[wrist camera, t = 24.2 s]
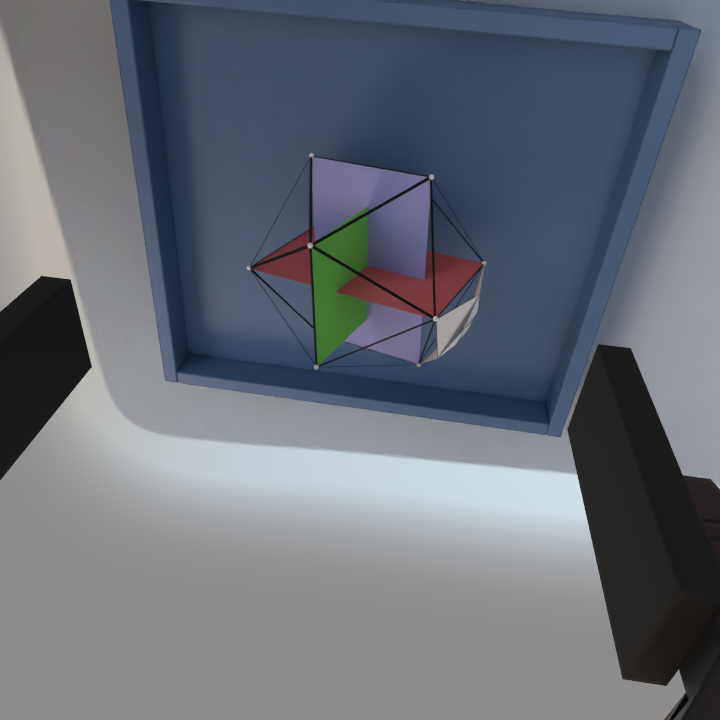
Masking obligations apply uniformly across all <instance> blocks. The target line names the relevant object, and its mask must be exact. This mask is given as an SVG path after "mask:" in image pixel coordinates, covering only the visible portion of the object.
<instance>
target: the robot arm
mask: <svg viewBox="0 0 720 720" xmlns="http://www.w3.org/2000/svg"><path fill="white" fill-rule="evenodd" d="M91 367H92V366H91V362H90V358H89V354H88V350H87V346H86V341H85V337H84V333H83V329H82V325H81V321H80V317H79V313H78V308H77V304H76V300H75V296H74V292H73V288H72V284H71V280H69V279H61V278H53V277H44V276H41V277H40V278H39V279H38V280H37V281H35V282H34V283H33V284H32V285H31V286H30V287H29V288H27V289H26V290H25V291H24V292H23V293H21V294H20V295H19V296H18V297H17V298H16V299H15V300H13V301H12V302H11V303H10V304H9V305H8V306H7V307H5V308H4V309H3V310H2V311H1V312H0V480H1V479H2V477H3V476H4V475H5V474H6V472H7V471H8V470H9V469H10V467H11V466H12V465H13V464H14V463H15V461H16V460H17V459H18V458H19V456H20V455H21V454H22V453H23V451H24V450H25V449H26V448H27V446H28V445H29V444H30V443H31V441H32V440H33V439H34V438H35V437H36V435H37V434H38V433H39V432H40V430H41V429H42V428H43V427H44V425H45V424H46V423H47V422H48V420H49V419H50V418H51V417H52V415H53V414H54V413H55V412H56V410H57V409H58V408H59V407H60V405H61V404H62V403H63V402H64V400H65V399H66V398H67V397H68V396H69V394H70V393H71V392H72V390H73V389H74V388H75V387H76V385H77V384H78V383H79V382H80V381H81V379H82V378H83V377H84V376H85V374H86V373H87V372H88V371H89V369H90V368H91ZM568 434H569V439H570V443H571V448H572V452H573V457H574V461H575V466H576V470H577V475H578V479H579V484H580V488H581V493H582V497H583V502H584V506H585V511H586V516H587V520H588V525H589V529H590V533H591V538H592V542H593V547H594V551H595V556H596V561H597V565H598V570H599V574H600V579H601V583H602V588H603V592H604V597H605V601H606V606H607V611H608V615H609V620H610V624H611V629H612V633H613V638H614V642H615V647H616V651H617V656H618V660H619V665H620V670H621V674H622V679H626V680H632V681H639V682H645V683H651V684H658V685H664V686H667V684H668V683H669V682H670V680H671V679H672V678H673V676H674V675H675V673H676V672H677V671H678V669H679V670H680V674H681V677H682V680H683V684H684V687H685V690H686V693H685V694H684V695H683V697H682V698H681V699H680V701H679V702H678V703H677V704H676V706H675V707H674V708H673V709H672V711H671V712H670V713H669V714H668V716H667V717H666V718H665V720H720V489H719V488H718V487H717V486H716V485H715V484H714V483H713V482H712V480H711V479H705V478H698V477H690V476H683V475H682V473H681V470H680V468H679V465H678V463H677V460H676V458H675V456H674V453H673V451H672V448H671V446H670V443H669V441H668V438H667V436H666V434H665V431H664V429H663V426H662V424H661V421H660V419H659V416H658V414H657V412H656V409H655V407H654V404H653V402H652V399H651V397H650V394H649V392H648V390H647V387H646V385H645V382H644V380H643V377H642V375H641V372H640V370H639V367H638V365H637V363H636V360H635V358H634V355H633V353H632V350H631V348H624V347H616V346H608V345H599V344H598V346H597V349H596V352H595V354H594V357H593V360H592V363H591V365H590V368H589V371H588V374H587V377H586V379H585V382H584V385H583V388H582V390H581V393H580V396H579V399H578V401H577V404H576V407H575V410H574V413H573V415H572V418H571V421H570V424H569V426H568Z"/></svg>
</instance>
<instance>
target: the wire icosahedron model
mask: <svg viewBox="0 0 720 720" xmlns="http://www.w3.org/2000/svg"><path fill="white" fill-rule="evenodd" d="M309 156H310V158H309V159H310V182H309V229H308V230H307V231H305V232H304V233H302V234H300V235H299V236H297V237H296V238H294V239H293V240H291V241H289V242H288V243H286V244H285V245H283V246H282V247H280V248H279V249H277V250H275V251H274V252H272V253H271V254H269V255H268V256H266V257H265V258H263V259H261V260H260V261H258V262H257V263H255V264H254V265H252V264H251V265H252V266H247V270H251V272H252V273H253V275H254V274H255V275H256V276H257V277H258V278H259V279H261V280H262V281H263V282H264V283H265V284H266V285H267V286H268V287H269V288H270V289H271V290H272V291H273V292H274V293H275V294H277V295H278V296H279V297H280V298H281V299H282V300H283V301H284V302H285V303H286V304H287V305H288V306H289V307H290V308H291V309H292V310H294V311H295V312H296V313H297V314H298V315H299V316H300V317H301V318H302V319H303V320H304V321H305V322H306V323H307V324H308V325H310V326H311V327H312V328H313V329H314V348H315V363H314V362H313V360H312V359H311V357H310V356H309V354H308V353H307V352H306V353H307V354H308V356H309V357H310V359H311V360H312V362H313V363H314V369H318V368H319V367H320V366H322V365H325V364H327V363H330V362H332V361H335V360H337V359H340V358H342V357H345V356H347V355H350V354H352V353H355V352H357V351H360V350H362V349H368V350H371V351H374V352H378V353H381V354H384V355H387V356H391V357H394V358H397V359H400V360H403V361H407V362H410V363H413V364H416V365H417V367H420V366H421V364H423V363H426V362H429V361H433V360H436V359H438V357H440V356H442V355H443V354H444V353H446V352H447V351H448V350H450V349H451V348H452V347H453V346H455V345H456V344H457V342H458V341H459V339H460V338H462V336H463V335H464V334H465V333H466V331H467V330H468V328H469V327H470V325H471V323H472V322H471V321H472V320H473V318H475V315H476V314H477V312H478V305H479V297H480V290H481V284H482V277H483V271H484V267H483V265H484V266H485V265H486V264H487V262H486V261H483V260H482V258H481V257H479V256H480V255H478V254H479V253H478V252H477V253H478V254H477V253H476V252H475V251H474V249H473V248H472V247H471V246H470V244H469V243H468V242H467V241H466V239H465V238H464V237H463V236H462V235H461V233H460V232H459V231H458V230H457V228H456V227H455V226H454V225H453V223H452V222H451V221H450V220H449V218H448V217H447V216H446V215H445V214H444V212H443V211H442V210H441V209H440V207H439V206H438V205H437V204H436V202H435V201H434V200H433V193H432V180H433V179H434V175H432V174H431V175H429V176H426V175H421V174H415V173H409V172H403V171H398V170H392V169H386V168H380V167H375V166H369V165H363V164H358V163H352V162H346V161H340V160H335V159H329V158H323V157H317V156H314V154H313V153H310V155H309ZM308 161H309V160H308ZM307 163H308V162H307ZM307 163H306V165H307ZM306 165H305V167H306ZM305 167H304V168H305ZM303 170H304V169H303ZM302 172H303V171H302ZM302 172H301V174H302ZM301 174H300V176H301ZM300 176H299V177H300ZM298 179H299V178H298ZM297 181H298V180H297ZM433 181H434V180H433ZM296 183H297V182H296ZM296 183H295V185H296ZM434 183H435V181H434ZM435 184H436V183H435ZM295 185H294V187H295ZM436 186H437V185H436ZM294 187H293V188H294ZM437 187H438V186H437ZM438 189H439V188H438ZM292 190H293V189H292ZM312 191H313V213H314V226H313V227H312ZM439 191H440V190H439ZM291 192H292V191H291ZM440 192H441V191H440ZM290 194H291V193H290ZM290 194H289V196H290ZM441 194H442V193H441ZM289 196H288V198H289ZM442 196H443V194H442ZM443 197H444V196H443ZM288 198H287V199H288ZM444 199H445V198H444ZM445 200H446V199H445ZM286 201H287V200H286ZM433 202H434V203H435V204H436V206H437V207H438V208H439V209H440V211H441V212H442V213H443V214H444V216H445V217H446V218H447V219H448V221H449V222H450V223H451V224H452V225H453V227H454V228H455V229H456V230H457V232H458V233H459V234H460V235H461V237H462V238H463V239H464V240H465V242H466V243H467V244H468V245H469V246H470V248H471V249H472V250H473V251H474V253H475V254H476V255H477V256H478V258H479V259H480V260H481V261H482V263H481V262H476V261H472V260H468V259H463V258H459V257H454V256H450V255H446V254H441V253H437V252H434V227H433ZM446 202H447V201H446ZM285 203H286V202H285ZM430 203H431V238H432V251H428V250H427V236H428V221H429V206H430ZM447 204H448V203H447ZM284 205H285V204H284ZM284 205H283V207H284ZM448 205H449V204H448ZM283 207H282V209H283ZM449 207H450V206H449ZM282 209H281V210H282ZM450 209H451V207H450ZM451 210H452V209H451ZM280 212H281V211H280ZM452 212H453V211H452ZM279 214H280V213H279ZM453 214H454V212H453ZM454 215H455V214H454ZM278 216H279V215H278ZM278 216H277V218H278ZM455 217H456V216H455ZM277 218H276V220H277ZM456 218H457V217H456ZM276 220H275V221H276ZM457 220H458V219H457ZM458 222H459V221H458ZM274 223H275V222H274ZM459 223H460V222H459ZM273 225H274V224H273ZM273 225H272V227H273ZM460 225H461V224H460ZM272 227H271V229H272ZM461 227H462V225H461ZM462 228H463V227H462ZM271 229H270V230H271ZM463 230H464V229H463ZM464 231H465V230H464ZM269 232H270V231H269ZM465 233H466V232H465ZM268 234H269V233H268ZM466 235H467V234H466ZM267 236H268V235H267ZM267 236H266V238H267ZM467 236H468V235H467ZM266 238H265V240H266ZM468 238H469V237H468ZM265 240H264V241H265ZM469 240H470V239H469ZM470 241H471V240H470ZM263 243H264V242H263ZM471 243H472V242H471ZM262 245H263V244H262ZM472 245H473V243H472ZM473 246H474V245H473ZM261 247H262V246H261ZM261 247H260V249H261ZM474 248H475V247H474ZM260 249H259V251H260ZM475 249H476V248H475ZM259 251H258V252H259ZM476 251H477V250H476ZM257 254H258V253H257ZM256 256H257V255H256ZM255 258H256V257H255ZM255 258H254V260H255ZM254 260H253V262H254ZM253 262H252V263H253ZM482 267H483V270H482V273H481V276H480V279H479V282H478V285H477V289H476V292H475V295H474V298H472V299H470V300H468V301H467V302H465V303H463V304H461V305H460V306H458V307H457V305H458V304H459V302H460V301H461V299H462V298H463V296H464V294H465V293H466V291H467V290H468V288H469V287H470V285H471V284H472V282H473V281H474V279H475V278H476V276H477V274H478V273H479V271H480V270H481V268H482ZM253 269H254V270H257V271H261V272H265V273H268V274H272V275H275V276H279V277H283V278H286V279H290V280H294V281H297V282H301V283H305V284H308V285H311V291H312V310H313V326H312V325H311V324H310V323H309V322H308V321H307V320H306V319H305V318H304V317H303V316H301V315H300V314H299V313H298V312H297V311H296V310H295V309H294V308H293V307H292V306H291V305H290V304H289V303H288V302H287V301H286V300H285V299H283V298H282V297H281V296H280V295H279V294H278V293H277V292H276V291H275V290H274V289H273V288H272V287H271V286H270V285H269V284H268V283H266V282H265V281H264V280H263V279H262V278H261V277H260V276H259V275H258V274H257V273H256V272H255V271H254V270H253ZM477 272H478V273H477ZM476 273H477V274H476ZM475 274H476V276H475V278H474V279H473V281H472V282H471V284H470V285H469V287H468V288H467V290H466V291H465V293H464V294H463V296H462V298H461V299H460V301H459V302H458V304H457V305H456V307H455V308H454V309H453V310H451V311H449V312H448V313H446V314H444V315H443V316H441V317H439V316H440V314H441V313H442V312H443V311H444V310H445V309H446V308H447V306H448V305H449V304H450V303H451V302H452V301H453V300H454V298H455V297H456V296H457V295H458V294H459V293H460V292H461V290H462V289H463V288H464V287H465V286H466V285H467V284H468V282H469V281H470V280H471V279H472V278H473V277H474V275H475ZM255 275H254V276H255ZM256 276H255V278H256ZM256 279H257V278H256ZM257 281H258V279H257ZM258 282H259V281H258ZM259 284H260V282H259ZM260 285H261V284H260ZM261 287H262V285H261ZM262 288H263V287H262ZM263 289H264V288H263ZM264 291H265V290H264ZM265 292H266V291H265ZM266 294H267V293H266ZM267 295H268V294H267ZM268 297H269V296H268ZM269 298H270V297H269ZM270 300H271V299H270ZM271 301H272V300H271ZM272 303H273V301H272ZM475 303H476V304H475ZM273 304H274V303H273ZM474 305H475V306H474ZM274 306H275V304H274ZM275 307H276V306H275ZM473 307H474V308H473ZM276 309H277V307H276ZM472 309H473V310H472ZM277 310H278V309H277ZM471 311H472V312H471ZM278 312H279V310H278ZM279 313H280V312H279ZM470 313H471V314H470ZM280 315H281V313H280ZM469 315H470V317H469ZM281 316H282V315H281ZM422 316H425V317H428V318H431V319H432V320H430V321H427V322H425V323H422ZM282 317H283V316H282ZM438 317H439V318H438ZM468 317H469V319H468ZM283 319H284V318H283ZM467 319H468V321H467ZM284 320H285V319H284ZM432 321H434V322H433V324H432V327H431V330H430V333H429V335H428V338H427V341H426V344H425V346H424V349H423V352H422V355H421V357H420V360H419V354H420V339H421V326H422V325H425V324H427V323H430V322H432ZM435 321H436V338H435V339H436V342H437V349H436V350H435V351H434V352H433V353H432V354H430V355H429V356H428V357H427V358H426V359H425V360H424V361H423V362H422V363H420V362H421V361H422V359H423V358H424V356H425V355H426V353H427V352H426V353H425V355H424V356H423V353H424V351H425V348H426V345H427V343H428V340H429V337H430V335H431V332H432V329H433V327H434V324H435ZM466 321H467V322H466ZM285 322H286V321H285ZM286 323H287V322H286ZM464 324H465V325H464ZM287 325H288V324H287ZM288 326H289V325H288ZM463 326H464V327H463ZM462 327H463V330H462V332H461V333H460V334H459V335H458V337H457V338H456V339H455V340H454V341H453V342H452V343H451V344H450V345H449V343H450V342H451V341H452V340H453V338H454V337H455V336H456V335H457V333H458V332H459V331H460V329H461V328H462ZM289 328H290V326H289ZM290 329H291V328H290ZM291 331H292V329H291ZM292 332H293V331H292ZM293 334H294V332H293ZM294 335H295V334H294ZM295 337H296V335H295ZM296 338H297V337H296ZM435 339H434V341H435ZM297 340H298V338H297ZM298 341H299V340H298ZM434 341H433V342H434ZM343 342H346V343H349V344H352V345H355V346H358V347H362V348H360V349H358V350H355V351H353V352H350V353H348V354H345V355H343V356H340V357H338V358H335V359H333V360H330V361H328V362H326V363H323V364H321V365H319V364H320V363H322V362H323V361H324V360H325V359H326V358H327V357H328V356H329V355H330V354H331V353H332V352H333V351H334V350H335V349H336V348H337V347H338V346H339V345H340V344H341V343H343ZM433 342H432V344H433ZM299 343H300V341H299ZM300 344H301V343H300ZM432 344H431V345H432ZM301 345H302V344H301ZM431 345H430V347H431ZM448 345H449V347H448V348H447V349H446V350H445V348H446V347H447V346H448ZM302 347H303V346H302ZM430 347H429V348H430ZM303 348H304V347H303ZM429 348H428V350H429ZM304 350H305V349H304ZM428 350H427V351H428ZM444 350H445V351H444ZM305 351H306V350H305ZM443 351H444V352H443ZM442 352H443V353H442ZM422 356H423V358H422ZM376 366H395V365H376ZM334 367H354V366H334Z"/></svg>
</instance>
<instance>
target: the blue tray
mask: <svg viewBox="0 0 720 720" xmlns="http://www.w3.org/2000/svg"><path fill="white" fill-rule="evenodd" d="M110 5H111V12H112V19H113V26H114V33H115V39H116V46H117V53H118V60H119V67H120V74H121V81H122V88H123V94H124V101H125V108H126V115H127V122H128V129H129V136H130V142H131V149H132V156H133V163H134V170H135V177H136V184H137V191H138V197H139V204H140V211H141V218H142V225H143V232H144V239H145V246H146V252H147V259H148V266H149V273H150V280H151V287H152V294H153V301H154V307H155V314H156V321H157V328H158V335H159V342H160V349H161V355H162V362H163V369H164V376H165V381H169V382H179V383H183V384H190V385H197V386H205V387H212V388H219V389H226V390H233V391H240V392H247V393H254V394H261V395H268V396H275V397H282V398H289V399H296V400H303V401H310V402H317V403H325V404H332V405H339V406H346V407H353V408H360V409H367V410H374V411H381V412H388V413H395V414H402V415H409V416H416V417H423V418H430V419H437V420H445V421H452V422H459V423H466V424H473V425H480V426H487V427H494V428H501V429H508V430H515V431H522V432H529V433H536V434H543V435H546V434H547V435H549V436H556V437H561V434H562V431H563V428H564V425H565V423H566V420H567V417H568V414H569V411H570V408H571V405H572V402H573V399H574V397H575V394H576V391H577V388H578V385H579V382H580V379H581V376H582V373H583V371H584V368H585V365H586V362H587V359H588V356H589V353H590V350H591V347H592V345H593V342H594V339H595V336H596V333H597V330H598V327H599V324H600V321H601V319H602V316H603V313H604V310H605V307H606V304H607V301H608V298H609V296H610V293H611V290H612V287H613V284H614V281H615V278H616V275H617V272H618V270H619V267H620V264H621V261H622V258H623V255H624V252H625V249H626V246H627V244H628V241H629V238H630V235H631V232H632V229H633V226H634V223H635V220H636V218H637V215H638V212H639V209H640V206H641V203H642V200H643V197H644V194H645V192H646V189H647V186H648V183H649V180H650V177H651V174H652V171H653V169H654V166H655V163H656V160H657V157H658V154H659V151H660V148H661V145H662V143H663V140H664V137H665V134H666V131H667V128H668V125H669V122H670V119H671V117H672V114H673V111H674V108H675V105H676V102H677V99H678V96H679V93H680V91H681V88H682V85H683V82H684V79H685V76H686V73H687V70H688V67H689V65H690V62H691V59H692V56H693V53H694V50H695V47H696V44H697V42H698V39H699V36H700V33H701V30H700V29H698V28H695V27H693V26H690V25H688V24H685V23H683V22H680V21H671V20H660V19H649V18H638V17H627V16H616V15H605V14H594V13H583V12H573V11H562V10H551V9H540V8H529V7H518V6H507V5H496V4H485V3H474V2H463V1H452V0H110ZM310 153H313V154H314V156H317V157H323V158H329V159H335V160H340V161H346V162H352V163H358V164H363V165H369V166H375V167H380V168H386V169H392V170H398V171H403V172H409V173H415V174H421V175H426V176H429V175H431V174H432V175H434V179H433V180H434V181H435V183H436V184H435V183H434V181H433V180H432V193H433V200H434V201H435V202H436V204H437V205H438V206H439V207H440V209H441V210H442V211H443V212H444V214H445V215H446V216H447V217H448V218H449V220H450V221H451V222H452V223H453V225H454V226H455V227H456V228H457V230H458V231H459V232H460V233H461V235H462V236H463V237H464V238H465V239H466V241H467V242H468V243H469V244H470V246H471V247H472V248H473V249H474V251H475V252H476V253H477V252H478V253H479V254H478V253H477V254H478V255H480V256H479V257H481V258H482V260H483V261H486V262H487V264H486V265H485V266H484V265H483V267H484V271H483V277H482V284H481V290H480V297H479V305H478V312H477V314H476V315H475V318H473V320H472V321H471V322H472V323H471V325H470V327H469V328H468V330H467V331H466V333H465V334H464V335H463V336H462V338H460V339H459V341H458V342H457V344H456V345H455V346H453V347H452V348H451V349H450V350H448V351H447V352H446V353H444V354H443V355H442V356H440V357H438V359H436V360H433V361H429V362H426V363H423V364H421V366H420V367H417V365H416V364H413V363H410V362H407V361H403V360H400V359H397V358H394V357H391V356H387V355H384V354H381V353H378V352H374V351H371V350H368V349H362V350H360V351H357V352H355V353H352V354H350V355H347V356H345V357H342V358H340V359H337V360H335V361H332V362H330V363H327V364H325V365H322V366H320V367H319V368H318V369H314V363H315V348H314V329H313V328H312V327H311V326H310V325H308V324H307V323H306V322H305V321H304V320H303V319H302V318H301V317H300V316H299V315H298V314H297V313H296V312H295V311H294V310H292V309H291V308H290V307H289V306H288V305H287V304H286V303H285V302H284V301H283V300H282V299H281V298H280V297H279V296H278V295H277V294H275V293H274V292H273V291H272V290H271V289H270V288H269V287H268V286H267V285H266V284H265V283H264V282H263V281H262V280H261V279H259V278H258V277H257V276H256V275H255V274H254V275H255V276H256V278H257V279H258V281H259V282H260V284H261V285H262V287H263V288H264V289H263V288H262V287H261V285H260V284H259V282H258V281H257V279H256V278H255V276H254V275H253V273H252V272H251V270H247V266H252V265H254V264H255V263H257V262H258V261H260V260H261V259H263V258H265V257H266V256H268V255H269V254H271V253H272V252H274V251H275V250H277V249H279V248H280V247H282V246H283V245H285V244H286V243H288V242H289V241H291V240H293V239H294V238H296V237H297V236H299V235H300V234H302V233H304V232H305V231H307V230H308V229H309V182H310V159H309V158H310V156H309V155H310ZM308 160H309V161H308ZM307 162H308V163H307ZM306 163H307V165H306ZM305 165H306V167H305ZM304 167H305V168H304ZM303 169H304V170H303ZM302 171H303V172H302ZM301 172H302V174H301ZM300 174H301V176H300ZM299 176H300V177H299ZM298 178H299V179H298ZM297 180H298V181H297ZM296 182H297V183H296ZM295 183H296V185H295ZM294 185H295V187H294ZM436 185H437V186H438V187H437V186H436ZM293 187H294V188H293ZM438 188H439V189H438ZM292 189H293V190H292ZM439 190H440V191H441V192H440V191H439ZM291 191H292V192H291ZM290 193H291V194H290ZM441 193H442V194H443V196H444V197H443V196H442V194H441ZM289 194H290V196H289ZM288 196H289V198H288ZM287 198H288V199H287ZM444 198H445V199H446V200H445V199H444ZM286 200H287V201H286ZM446 201H447V202H446ZM285 202H286V203H285ZM447 203H448V204H449V205H448V204H447ZM284 204H285V205H284ZM436 204H435V203H434V202H433V227H434V252H437V253H441V254H446V255H450V256H454V257H459V258H463V259H468V260H472V261H476V262H481V263H482V261H481V260H480V259H479V258H478V256H477V255H476V254H475V253H474V251H473V250H472V249H471V248H470V246H469V245H468V244H467V243H466V242H465V240H464V239H463V238H462V237H461V235H460V234H459V233H458V232H457V230H456V229H455V228H454V227H453V225H452V224H451V223H450V222H449V221H448V219H447V218H446V217H445V216H444V214H443V213H442V212H441V211H440V209H439V208H438V207H437V206H436ZM283 205H284V207H283ZM449 206H450V207H451V209H452V210H451V209H450V207H449ZM282 207H283V209H282ZM281 209H282V210H281ZM280 211H281V212H280ZM452 211H453V212H454V214H455V215H454V214H453V212H452ZM279 213H280V214H279ZM278 215H279V216H278ZM277 216H278V218H277ZM455 216H456V217H457V218H456V217H455ZM276 218H277V220H276ZM457 219H458V220H457ZM275 220H276V221H275ZM458 221H459V222H460V223H459V222H458ZM274 222H275V223H274ZM273 224H274V225H273ZM460 224H461V225H462V227H463V228H462V227H461V225H460ZM272 225H273V227H272ZM313 226H314V213H313V191H312V227H313ZM271 227H272V229H271ZM270 229H271V230H270ZM463 229H464V230H465V231H464V230H463ZM269 231H270V232H269ZM465 232H466V233H465ZM268 233H269V234H268ZM466 234H467V235H468V236H467V235H466ZM267 235H268V236H267ZM266 236H267V238H266ZM468 237H469V238H468ZM265 238H266V240H265ZM469 239H470V240H471V241H470V240H469ZM264 240H265V241H264ZM263 242H264V243H263ZM471 242H472V243H473V245H474V246H473V245H472V243H471ZM262 244H263V245H262ZM261 246H262V247H261ZM260 247H261V249H260ZM474 247H475V248H476V249H475V248H474ZM259 249H260V251H259ZM427 250H428V251H432V238H431V203H430V206H429V221H428V236H427ZM476 250H477V251H476ZM258 251H259V252H258ZM257 253H258V254H257ZM256 255H257V256H256ZM255 257H256V258H255ZM254 258H255V260H254ZM253 260H254V262H253ZM252 262H253V263H252ZM251 264H252V265H251ZM483 267H482V268H481V270H480V271H479V273H478V272H477V273H478V274H477V273H476V274H477V276H476V274H475V275H474V277H473V278H472V279H471V280H470V281H469V282H468V284H467V285H466V286H465V287H464V288H463V289H462V290H461V292H460V293H459V294H458V295H457V296H456V297H455V298H454V300H453V301H452V302H451V303H450V304H449V305H448V306H447V308H446V309H445V310H444V311H443V312H442V313H441V314H440V316H439V317H441V316H443V315H444V314H446V313H448V312H449V311H451V310H453V309H454V308H455V307H456V305H457V304H458V302H459V301H460V299H461V298H462V296H463V294H464V293H465V291H466V290H467V288H468V287H469V285H470V284H471V282H472V281H473V279H474V278H475V276H476V278H475V279H474V281H473V282H472V284H471V285H470V287H469V288H468V290H467V291H466V293H465V294H464V296H463V298H462V299H461V301H460V302H459V304H458V305H457V307H458V306H460V305H461V304H463V303H465V302H467V301H468V300H470V299H472V298H474V295H475V292H476V289H477V285H478V282H479V279H480V276H481V273H482V270H483ZM253 270H254V269H253ZM254 271H255V272H256V273H257V274H258V275H259V276H260V277H261V278H262V279H263V280H264V281H265V282H266V283H268V284H269V285H270V286H271V287H272V288H273V289H274V290H275V291H276V292H277V293H278V294H279V295H280V296H281V297H282V298H283V299H285V300H286V301H287V302H288V303H289V304H290V305H291V306H292V307H293V308H294V309H295V310H296V311H297V312H298V313H299V314H300V315H301V316H303V317H304V318H305V319H306V320H307V321H308V322H309V323H310V324H311V325H312V326H313V310H312V291H311V285H308V284H305V283H301V282H297V281H294V280H290V279H286V278H283V277H279V276H275V275H272V274H268V273H265V272H261V271H257V270H254ZM264 290H265V291H266V292H265V291H264ZM266 293H267V294H268V295H267V294H266ZM268 296H269V297H270V298H269V297H268ZM270 299H271V300H272V301H273V303H274V304H275V306H276V307H277V309H278V310H279V312H280V313H281V315H282V316H283V317H282V316H281V315H280V313H279V312H278V310H277V309H276V307H275V306H274V304H273V303H272V301H271V300H270ZM475 304H476V303H475ZM474 306H475V305H474ZM473 308H474V307H473ZM472 310H473V309H472ZM471 312H472V311H471ZM470 314H471V313H470ZM439 317H438V318H439ZM469 317H470V315H469ZM469 317H468V319H469ZM283 318H284V319H285V320H284V319H283ZM468 319H467V321H468ZM430 320H432V319H431V318H428V317H425V316H422V323H425V322H427V321H430ZM285 321H286V322H287V323H286V322H285ZM467 321H466V322H467ZM433 322H434V321H432V322H430V323H427V324H425V325H422V326H421V339H420V354H419V360H420V357H421V355H422V352H423V349H424V346H425V344H426V341H427V338H428V335H429V333H430V330H431V327H432V324H433ZM287 324H288V325H289V326H290V328H291V329H292V331H293V332H294V334H295V335H296V337H297V338H298V340H299V341H300V343H301V344H302V345H301V344H300V343H299V341H298V340H297V338H296V337H295V335H294V334H293V332H292V331H291V329H290V328H289V326H288V325H287ZM464 325H465V324H464ZM463 327H464V326H463ZM463 327H462V328H461V329H460V331H459V332H458V333H457V335H456V336H455V337H454V338H453V340H452V341H451V342H450V343H449V345H450V344H451V343H452V342H453V341H454V340H455V339H456V338H457V337H458V335H459V334H460V333H461V332H462V330H463ZM435 338H436V321H435V324H434V327H433V329H432V332H431V335H430V337H429V340H428V343H427V345H426V348H425V351H424V353H423V356H424V355H425V353H426V352H427V353H426V355H425V356H424V358H423V356H422V358H423V359H422V361H421V362H420V363H422V362H423V361H424V360H425V359H426V358H427V357H428V356H429V355H430V354H432V353H433V352H434V351H435V350H436V349H437V342H436V339H435ZM434 339H435V341H434ZM433 341H434V342H433ZM432 342H433V344H432ZM431 344H432V345H431ZM430 345H431V347H430ZM449 345H448V346H447V347H446V348H445V350H446V349H447V348H448V347H449ZM302 346H303V347H304V348H303V347H302ZM429 347H430V348H429ZM360 348H362V347H358V346H355V345H352V344H349V343H346V342H343V343H341V344H340V345H339V346H338V347H337V348H336V349H335V350H334V351H333V352H332V353H331V354H330V355H329V356H328V357H327V358H326V359H325V360H324V361H323V362H322V363H320V364H319V365H321V364H323V363H326V362H328V361H330V360H333V359H335V358H338V357H340V356H343V355H345V354H348V353H350V352H353V351H355V350H358V349H360ZM428 348H429V350H428ZM304 349H305V350H306V351H305V350H304ZM427 350H428V351H427ZM445 350H444V351H445ZM444 351H443V352H444ZM306 352H307V353H308V354H309V356H310V357H311V359H312V360H313V362H314V363H313V362H312V360H311V359H310V357H309V356H308V354H307V353H306ZM443 352H442V353H443ZM376 365H395V366H376ZM334 366H354V367H334Z"/></svg>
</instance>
